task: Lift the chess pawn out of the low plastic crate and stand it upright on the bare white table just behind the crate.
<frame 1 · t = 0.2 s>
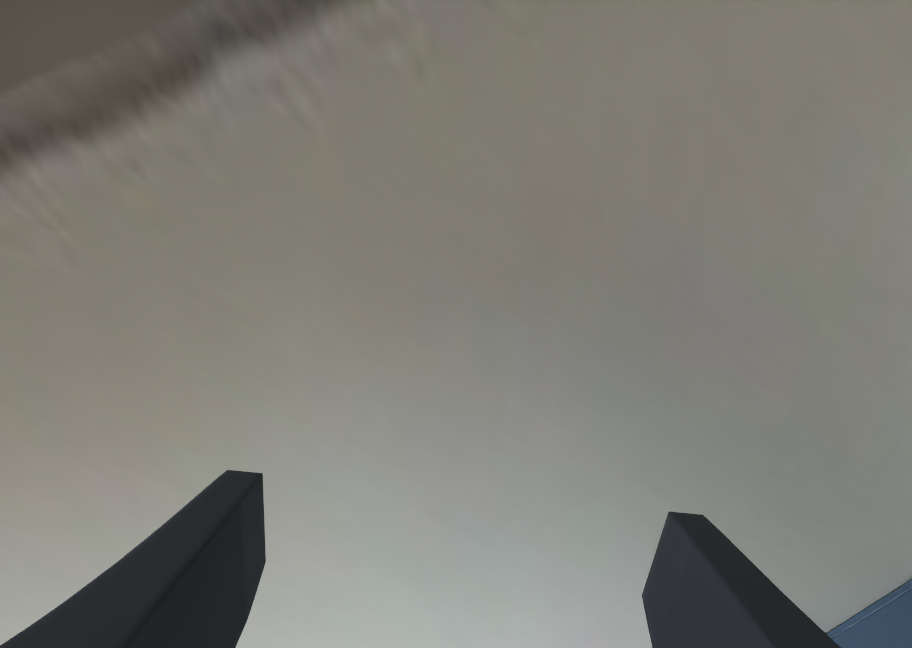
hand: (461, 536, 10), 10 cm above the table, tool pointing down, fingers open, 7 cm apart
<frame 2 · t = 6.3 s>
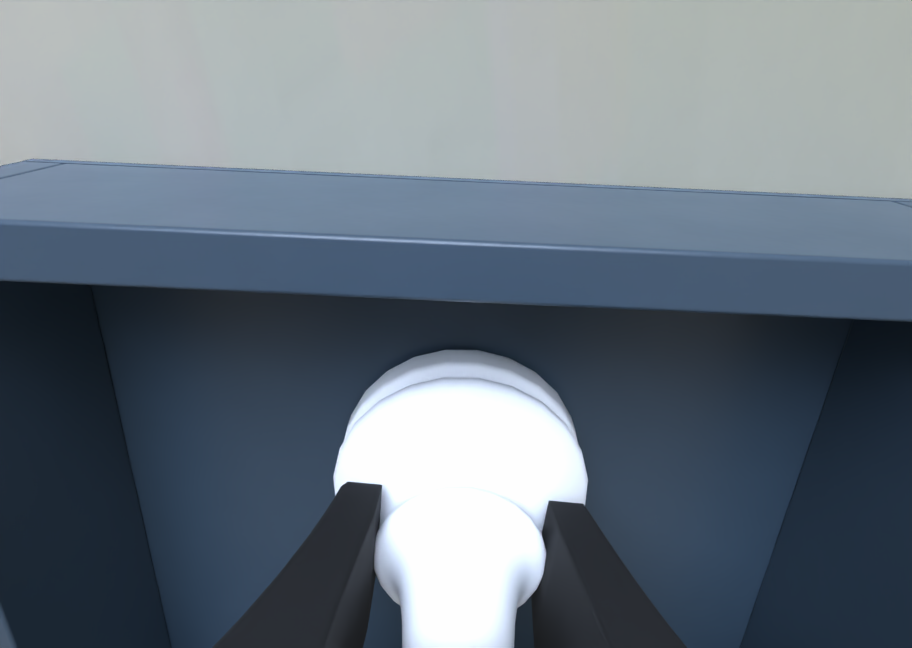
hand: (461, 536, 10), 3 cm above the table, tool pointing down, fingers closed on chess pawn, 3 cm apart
crate: (461, 492, 14), on the table
chess pawn: (460, 441, 13), resting on crate, touching gripper
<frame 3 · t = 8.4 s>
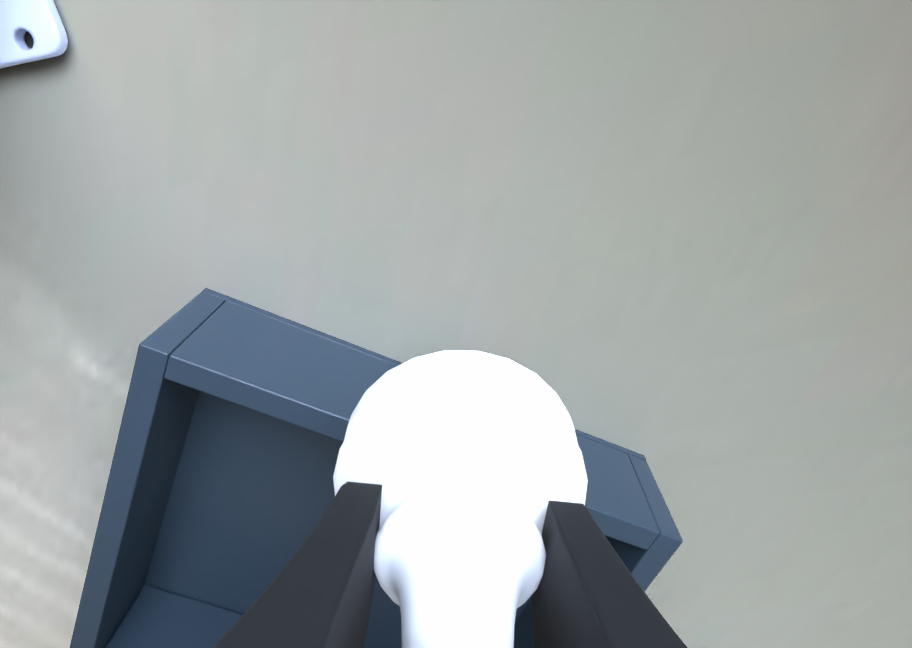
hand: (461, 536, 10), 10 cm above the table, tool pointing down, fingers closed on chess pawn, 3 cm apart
crate: (367, 524, 23), on the table
chess pawn: (460, 442, 13), point 7 cm above the table, touching gripper
when the fingers open (3 cm above the table, at t = 10.8 s): chess pawn stays where it is, on the table.
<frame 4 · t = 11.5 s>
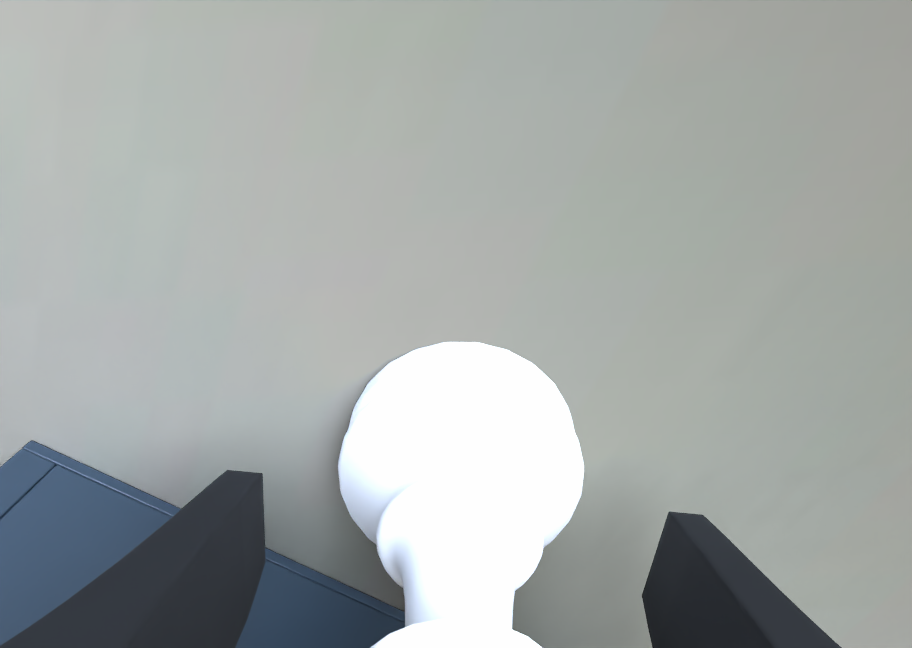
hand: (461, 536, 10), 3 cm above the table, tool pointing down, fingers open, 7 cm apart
chess pawn: (461, 432, 13), on the table
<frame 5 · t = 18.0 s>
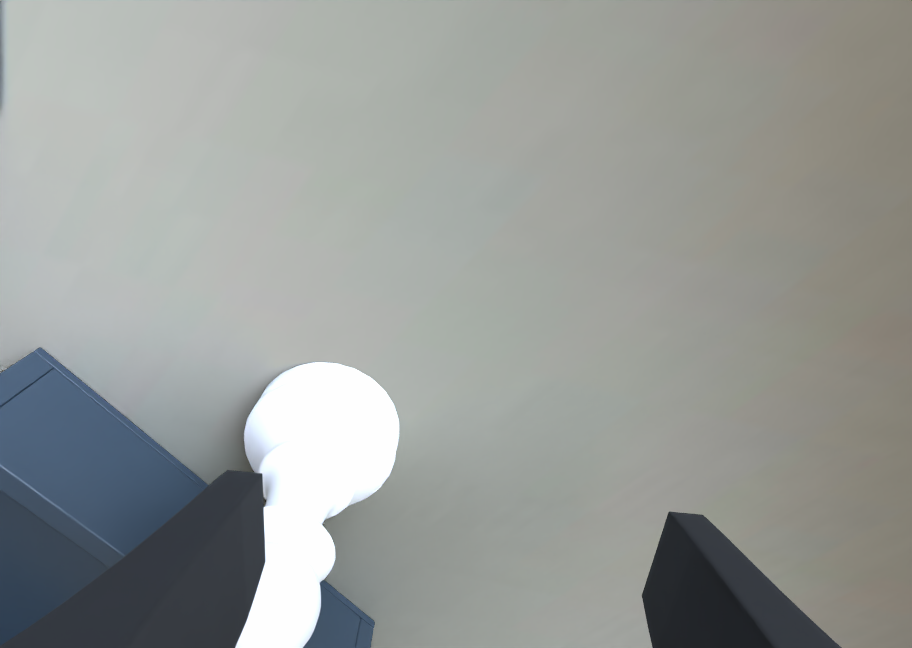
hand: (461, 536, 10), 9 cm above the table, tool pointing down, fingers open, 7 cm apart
crate: (108, 587, 24), on the table
chess pawn: (330, 419, 21), on the table
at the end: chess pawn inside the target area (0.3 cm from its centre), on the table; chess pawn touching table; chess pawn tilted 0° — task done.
